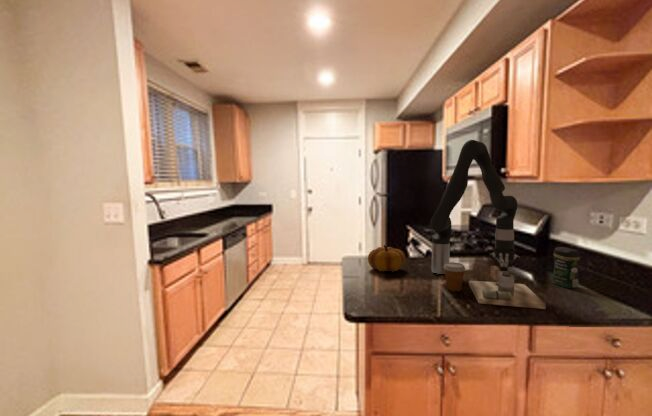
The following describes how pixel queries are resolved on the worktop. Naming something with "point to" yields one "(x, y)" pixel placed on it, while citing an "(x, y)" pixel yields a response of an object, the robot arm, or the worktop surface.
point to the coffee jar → (566, 267)
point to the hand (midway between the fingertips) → (504, 274)
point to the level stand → (505, 295)
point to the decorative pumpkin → (386, 259)
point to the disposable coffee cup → (454, 275)
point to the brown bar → (503, 280)
